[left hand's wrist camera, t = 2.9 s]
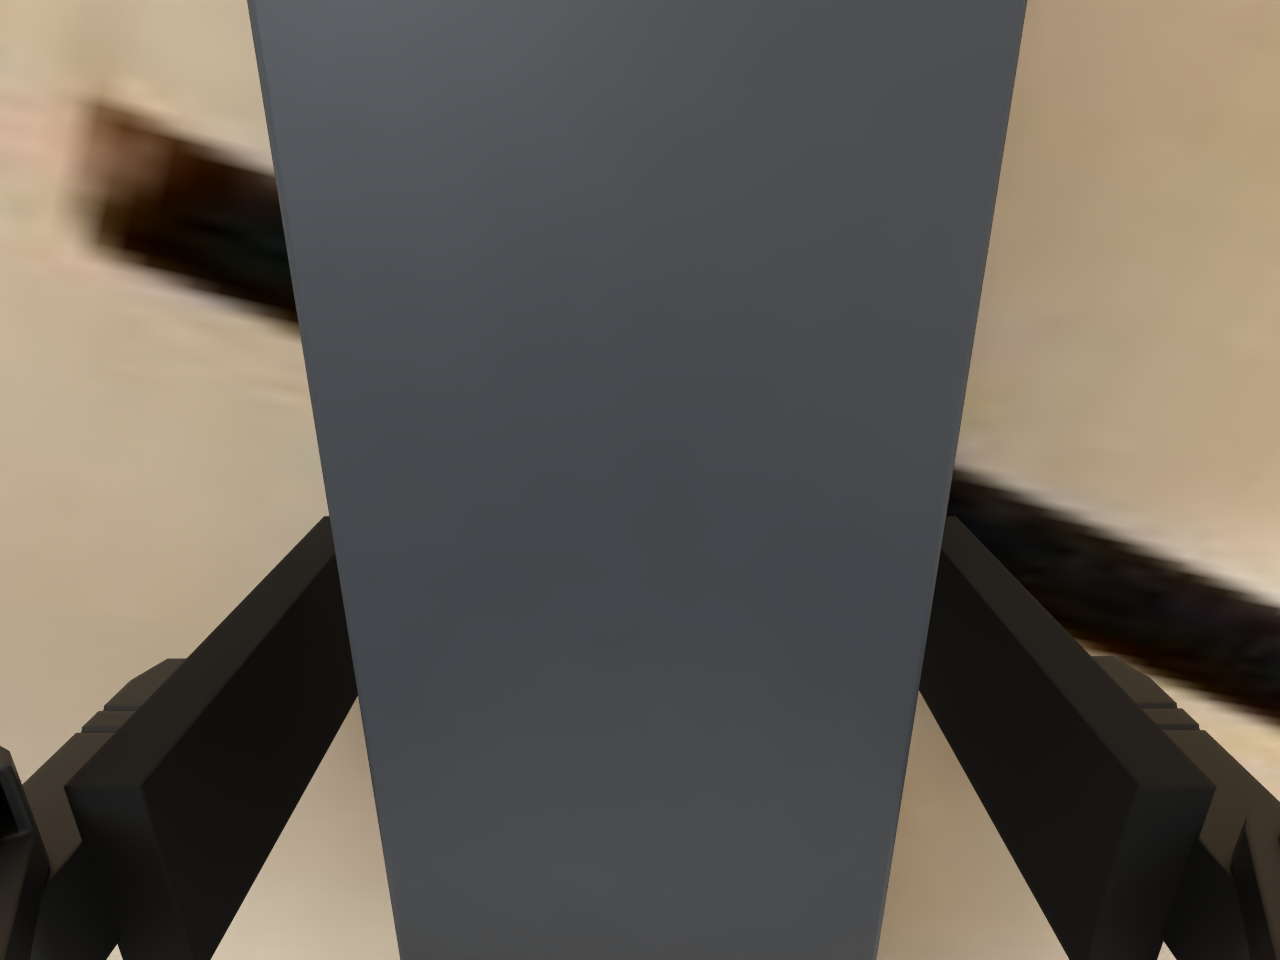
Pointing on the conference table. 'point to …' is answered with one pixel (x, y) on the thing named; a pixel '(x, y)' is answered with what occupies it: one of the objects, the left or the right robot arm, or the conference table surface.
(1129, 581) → the conference table surface
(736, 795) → the beam
